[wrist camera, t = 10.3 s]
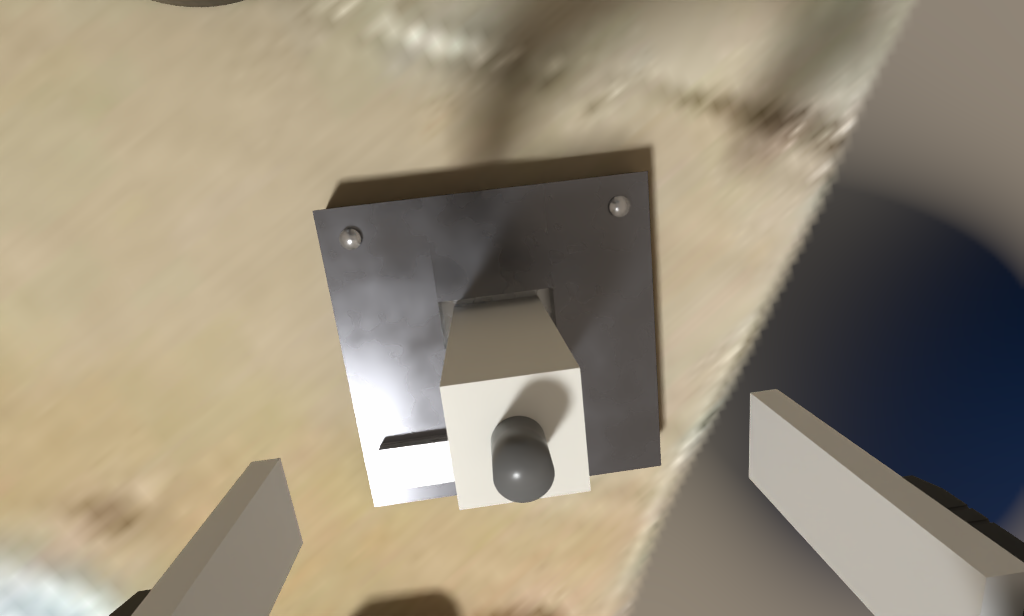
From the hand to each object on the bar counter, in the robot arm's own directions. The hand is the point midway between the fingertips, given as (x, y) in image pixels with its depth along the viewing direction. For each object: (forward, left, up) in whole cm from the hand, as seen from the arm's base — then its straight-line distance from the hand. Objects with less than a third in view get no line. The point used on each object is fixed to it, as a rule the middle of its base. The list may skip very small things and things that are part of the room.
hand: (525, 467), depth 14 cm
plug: (0, 0, -13) cm, 13 cm away
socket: (0, 0, -14) cm, 14 cm away
